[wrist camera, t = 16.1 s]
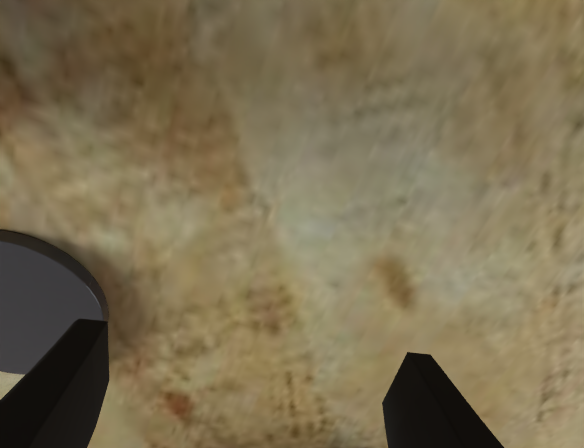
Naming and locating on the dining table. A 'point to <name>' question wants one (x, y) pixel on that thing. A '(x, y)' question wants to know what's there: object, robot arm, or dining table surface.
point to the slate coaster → (40, 299)
